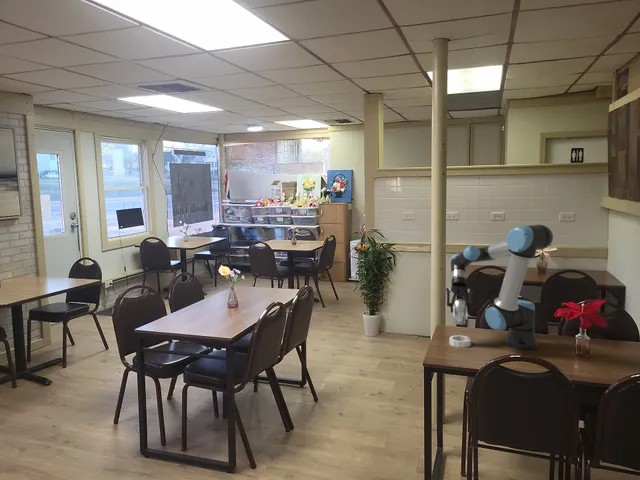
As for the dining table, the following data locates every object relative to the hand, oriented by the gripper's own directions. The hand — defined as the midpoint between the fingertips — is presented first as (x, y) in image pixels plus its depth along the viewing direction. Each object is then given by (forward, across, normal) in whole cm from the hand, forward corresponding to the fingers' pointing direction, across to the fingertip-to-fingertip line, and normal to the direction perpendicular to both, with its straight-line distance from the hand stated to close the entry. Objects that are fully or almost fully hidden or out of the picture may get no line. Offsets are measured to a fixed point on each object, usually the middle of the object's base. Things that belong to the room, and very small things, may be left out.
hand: (460, 317), depth 245 cm
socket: (+8, 0, -13) cm, 15 cm away
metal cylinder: (0, 0, -5) cm, 5 cm away
